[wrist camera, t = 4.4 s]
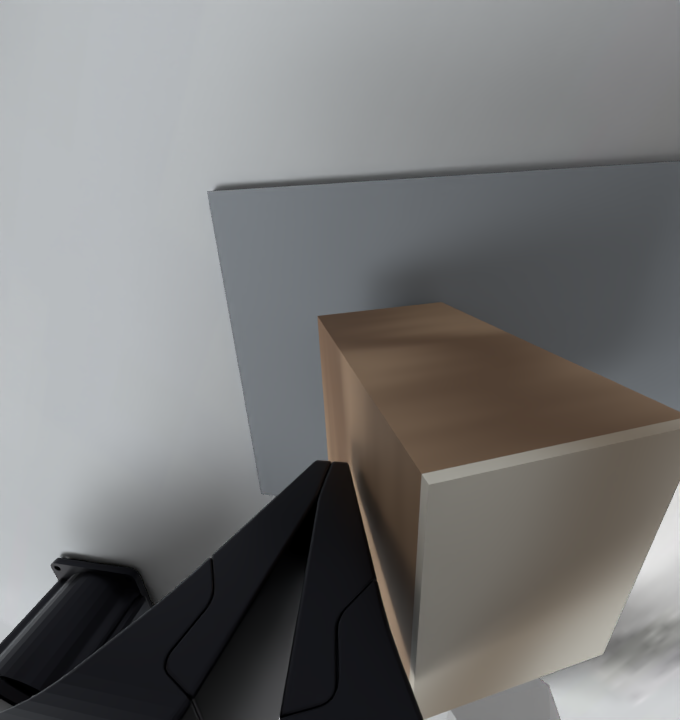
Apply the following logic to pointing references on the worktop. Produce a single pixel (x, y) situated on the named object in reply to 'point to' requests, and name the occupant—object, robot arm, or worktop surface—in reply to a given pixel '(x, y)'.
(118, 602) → the robot arm
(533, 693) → the die
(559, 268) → the rubber mat
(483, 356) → the wooden block
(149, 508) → the worktop surface
